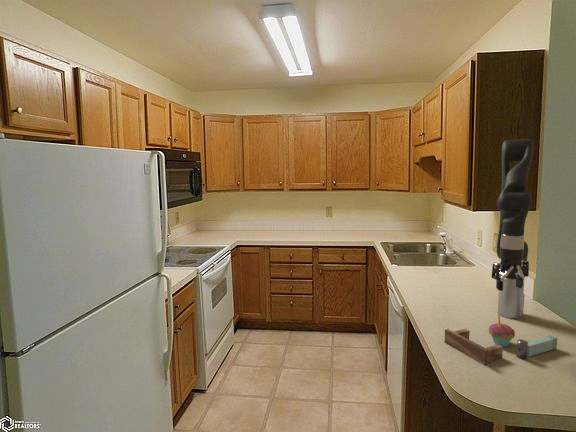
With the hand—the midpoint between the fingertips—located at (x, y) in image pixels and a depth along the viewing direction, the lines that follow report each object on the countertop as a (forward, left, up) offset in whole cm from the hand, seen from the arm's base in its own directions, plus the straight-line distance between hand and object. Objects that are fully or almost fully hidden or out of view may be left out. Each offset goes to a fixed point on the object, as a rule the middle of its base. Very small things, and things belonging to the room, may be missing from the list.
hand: (509, 288), depth 139 cm
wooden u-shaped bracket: (+19, +2, -19) cm, 27 cm away
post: (+8, +12, -19) cm, 24 cm away
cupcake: (+6, +2, -19) cm, 20 cm away
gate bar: (-1, +12, -19) cm, 23 cm away
